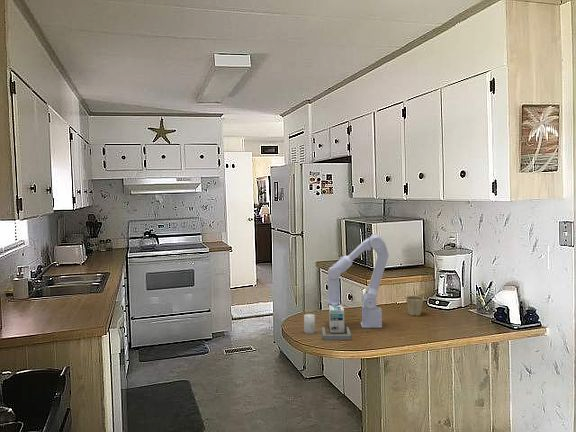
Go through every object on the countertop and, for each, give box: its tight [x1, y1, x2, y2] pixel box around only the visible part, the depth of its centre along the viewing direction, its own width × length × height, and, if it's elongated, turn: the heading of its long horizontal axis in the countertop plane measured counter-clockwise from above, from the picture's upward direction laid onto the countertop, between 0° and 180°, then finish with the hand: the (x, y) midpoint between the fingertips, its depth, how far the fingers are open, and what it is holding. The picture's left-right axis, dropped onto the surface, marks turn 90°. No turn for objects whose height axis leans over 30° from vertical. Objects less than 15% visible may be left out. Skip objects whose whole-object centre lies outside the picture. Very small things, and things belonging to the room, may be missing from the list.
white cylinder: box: [303, 313, 316, 335], centre depth 235 cm, size 5×5×8 cm
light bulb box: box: [328, 304, 345, 334], centre depth 238 cm, size 11×7×11 cm, turn 179°
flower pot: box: [405, 295, 425, 317], centre depth 263 cm, size 9×9×9 cm
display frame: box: [321, 326, 352, 341], centre depth 229 cm, size 12×13×2 cm
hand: (334, 319), depth 246 cm, fingers closed
